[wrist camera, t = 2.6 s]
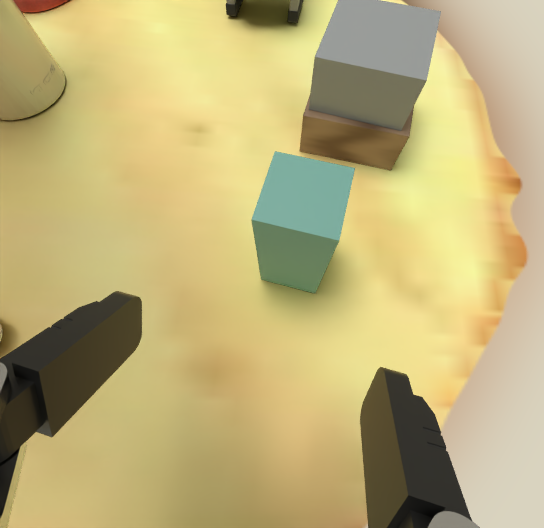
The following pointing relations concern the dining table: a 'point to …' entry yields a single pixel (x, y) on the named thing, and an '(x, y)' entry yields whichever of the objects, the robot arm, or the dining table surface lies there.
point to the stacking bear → (37, 5)
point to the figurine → (293, 13)
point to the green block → (300, 219)
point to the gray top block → (373, 61)
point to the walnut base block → (352, 139)
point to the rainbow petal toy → (1, 332)
